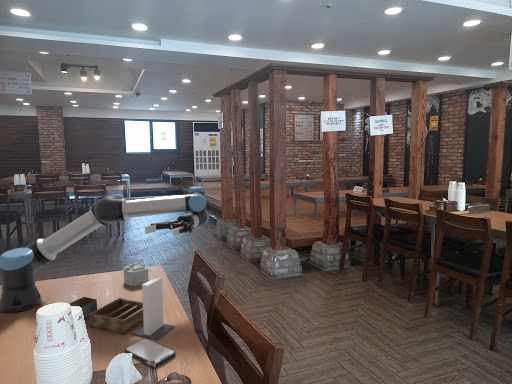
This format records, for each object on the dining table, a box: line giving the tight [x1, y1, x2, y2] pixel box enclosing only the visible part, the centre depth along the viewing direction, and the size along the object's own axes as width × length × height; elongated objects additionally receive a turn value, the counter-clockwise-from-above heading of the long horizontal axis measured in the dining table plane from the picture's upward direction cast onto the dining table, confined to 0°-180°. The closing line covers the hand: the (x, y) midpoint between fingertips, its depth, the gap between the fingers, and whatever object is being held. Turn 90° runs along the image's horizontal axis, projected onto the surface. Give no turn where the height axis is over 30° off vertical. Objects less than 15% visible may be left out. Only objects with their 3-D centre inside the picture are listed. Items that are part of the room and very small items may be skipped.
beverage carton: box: [68, 296, 98, 320], centre depth 135 cm, size 8×19×7 cm, turn 155°
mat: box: [131, 323, 176, 341], centre depth 127 cm, size 11×10×1 cm
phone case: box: [124, 338, 176, 368], centre depth 113 cm, size 9×2×16 cm
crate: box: [88, 297, 144, 336], centre depth 135 cm, size 16×16×5 cm
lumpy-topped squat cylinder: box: [123, 262, 150, 287], centre depth 177 cm, size 10×13×9 cm
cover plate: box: [141, 276, 164, 335], centre depth 126 cm, size 2×8×18 cm, turn 159°
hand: (159, 231), depth 144 cm, fingers open, 13 cm apart
